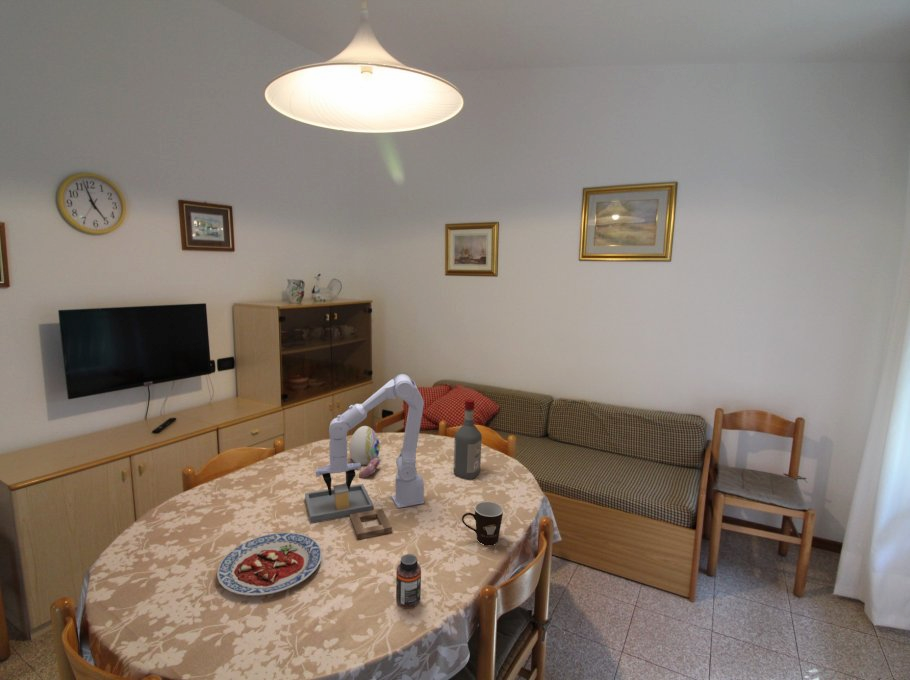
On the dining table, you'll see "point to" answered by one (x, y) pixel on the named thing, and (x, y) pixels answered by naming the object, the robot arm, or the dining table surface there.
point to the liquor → (467, 446)
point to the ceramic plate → (269, 564)
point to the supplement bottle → (408, 582)
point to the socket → (372, 531)
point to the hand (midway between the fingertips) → (338, 492)
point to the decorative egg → (364, 445)
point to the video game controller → (370, 468)
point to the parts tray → (325, 508)
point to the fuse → (341, 496)
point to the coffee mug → (487, 522)
